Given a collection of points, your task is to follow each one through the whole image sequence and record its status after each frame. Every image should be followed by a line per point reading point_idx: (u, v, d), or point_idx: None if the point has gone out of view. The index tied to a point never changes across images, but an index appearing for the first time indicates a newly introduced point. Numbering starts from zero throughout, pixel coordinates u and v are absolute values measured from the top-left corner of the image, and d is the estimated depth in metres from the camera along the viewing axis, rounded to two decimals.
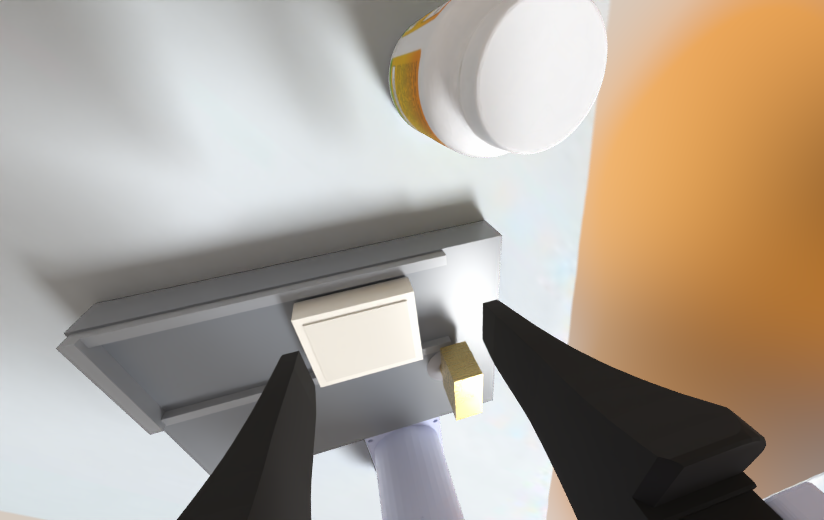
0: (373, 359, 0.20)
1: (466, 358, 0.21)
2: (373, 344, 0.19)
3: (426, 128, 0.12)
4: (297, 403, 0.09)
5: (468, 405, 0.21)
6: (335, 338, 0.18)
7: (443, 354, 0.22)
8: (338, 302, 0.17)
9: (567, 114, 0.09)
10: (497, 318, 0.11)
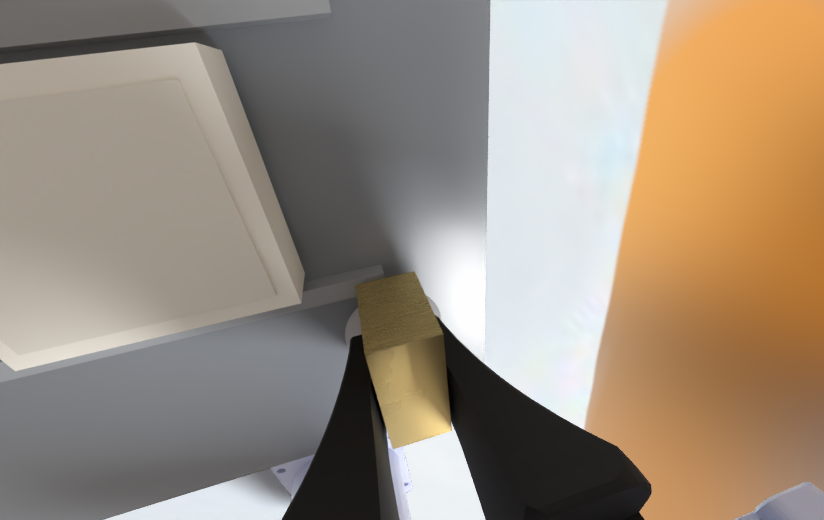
0: (150, 295, 0.07)
1: (409, 302, 0.09)
2: (126, 245, 0.07)
3: None
4: None
5: (416, 414, 0.09)
6: None
7: (359, 296, 0.09)
8: None
9: None
10: None
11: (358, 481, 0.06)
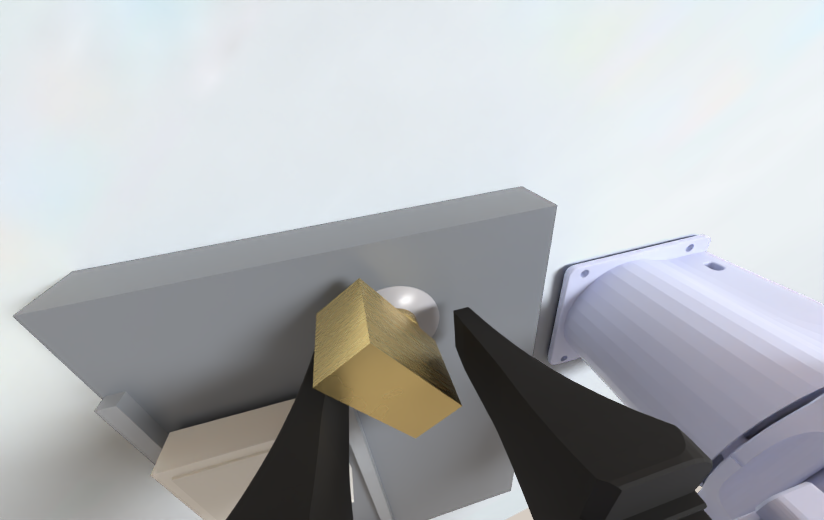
0: None
1: (350, 316, 0.09)
2: None
3: None
4: None
5: (411, 408, 0.09)
6: None
7: (317, 325, 0.10)
8: None
9: None
10: (465, 327, 0.10)
11: (291, 503, 0.06)
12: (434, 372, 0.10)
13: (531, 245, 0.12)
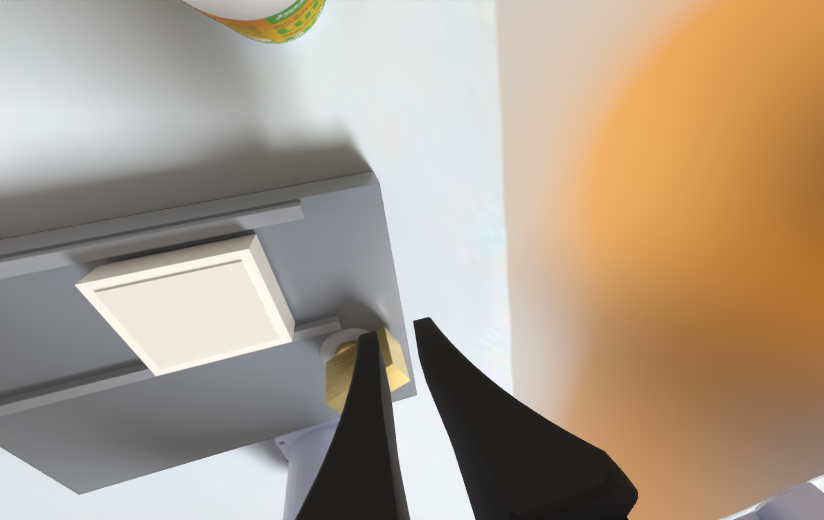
0: (220, 340, 0.16)
1: (400, 356, 0.19)
2: (213, 320, 0.15)
3: None
4: (384, 378, 0.10)
5: None
6: (153, 310, 0.14)
7: (386, 334, 0.19)
8: (150, 263, 0.13)
9: None
10: (421, 339, 0.10)
11: (372, 477, 0.06)
12: None
13: (397, 393, 0.24)
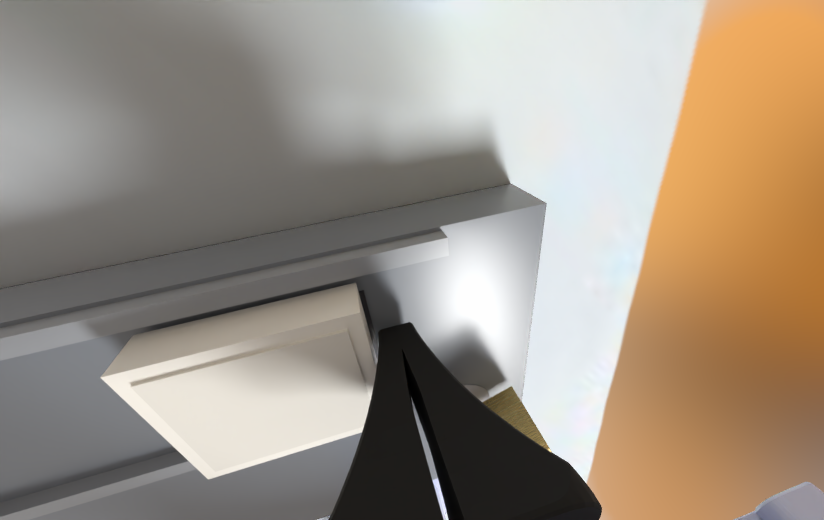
0: (300, 430, 0.11)
1: None
2: (294, 407, 0.10)
3: None
4: (406, 372, 0.10)
5: None
6: (214, 402, 0.09)
7: (518, 398, 0.14)
8: (212, 335, 0.09)
9: None
10: (400, 344, 0.10)
11: (408, 465, 0.06)
12: None
13: None
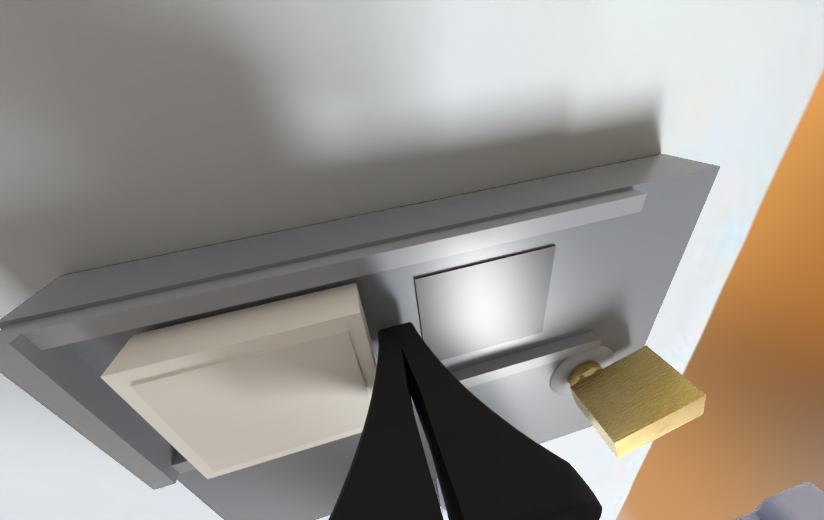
0: (299, 430, 0.11)
1: None
2: (294, 407, 0.10)
3: None
4: (406, 372, 0.10)
5: (644, 435, 0.14)
6: (214, 402, 0.09)
7: (656, 355, 0.15)
8: (212, 335, 0.09)
9: None
10: (400, 344, 0.10)
11: (408, 465, 0.06)
12: None
13: None
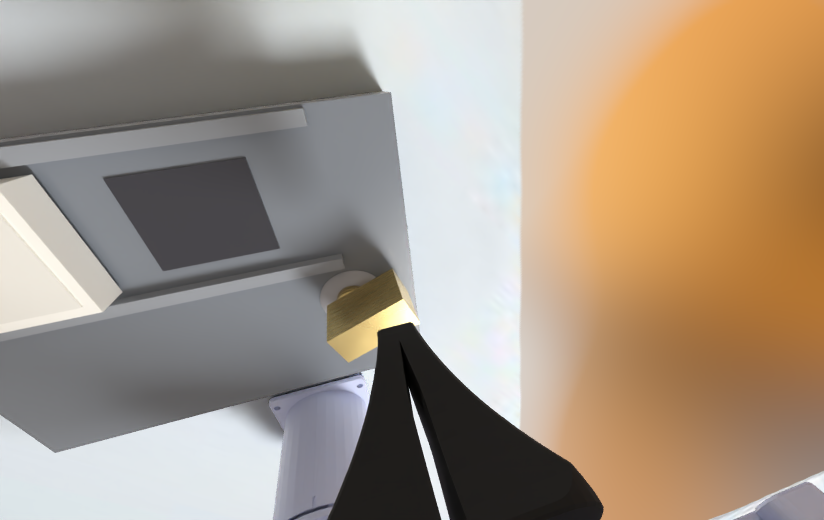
0: None
1: (409, 299, 0.17)
2: None
3: None
4: None
5: (361, 338, 0.16)
6: None
7: (394, 274, 0.17)
8: None
9: None
10: (401, 344, 0.10)
11: (406, 465, 0.06)
12: None
13: None
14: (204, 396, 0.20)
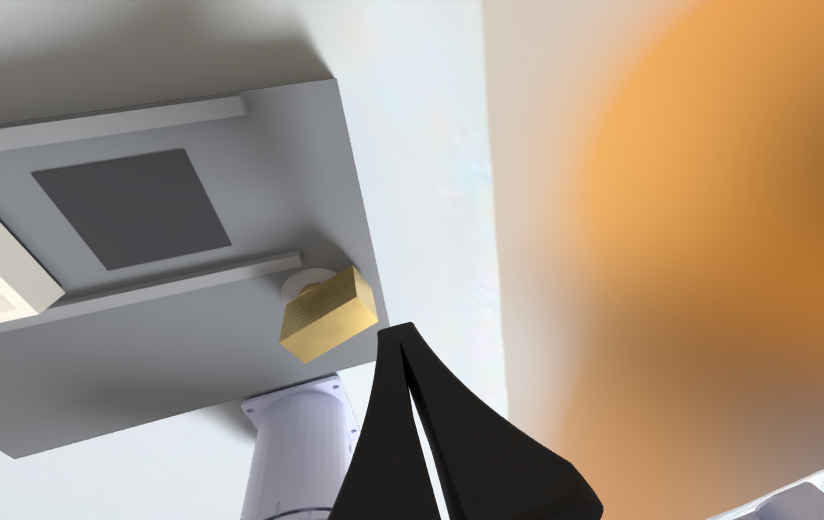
0: None
1: (369, 297, 0.16)
2: None
3: None
4: (405, 373, 0.10)
5: (316, 339, 0.15)
6: None
7: (353, 271, 0.16)
8: None
9: None
10: (401, 344, 0.10)
11: (406, 465, 0.06)
12: None
13: (373, 352, 0.22)
14: (167, 399, 0.20)
